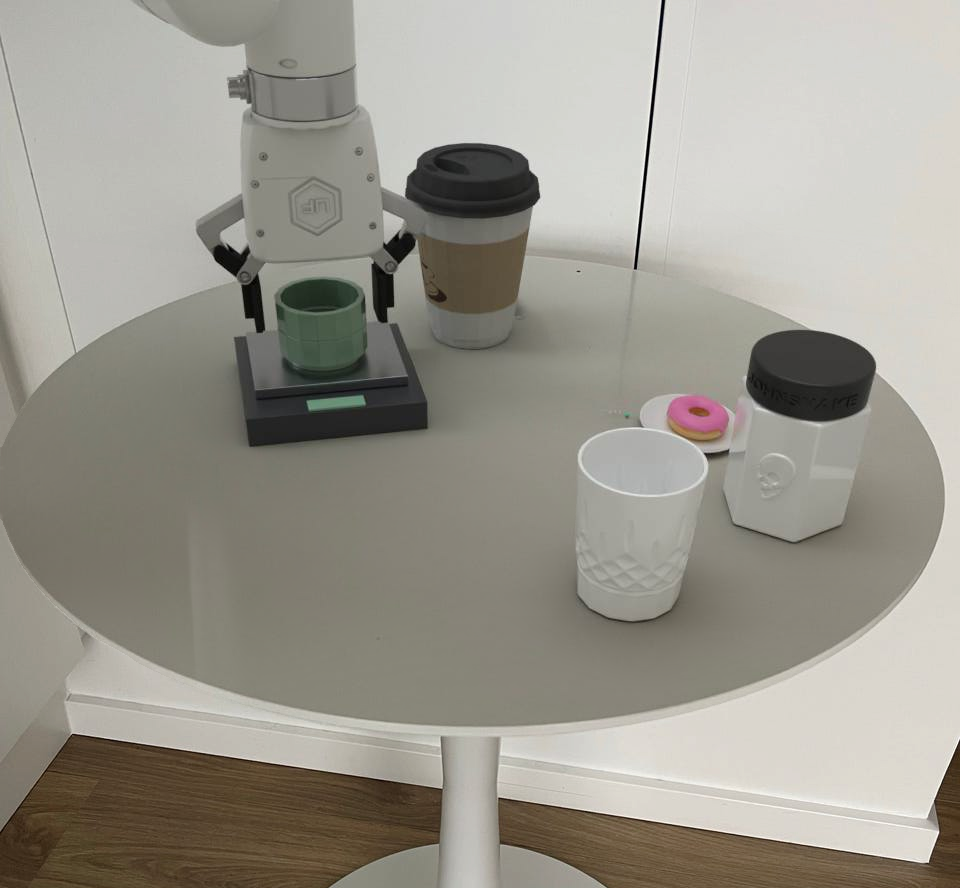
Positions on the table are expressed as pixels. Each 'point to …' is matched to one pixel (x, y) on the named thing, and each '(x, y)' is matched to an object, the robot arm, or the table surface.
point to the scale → (331, 407)
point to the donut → (690, 420)
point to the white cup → (636, 519)
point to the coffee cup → (472, 238)
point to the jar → (798, 433)
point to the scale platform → (286, 379)
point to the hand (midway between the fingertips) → (320, 320)
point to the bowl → (321, 323)
